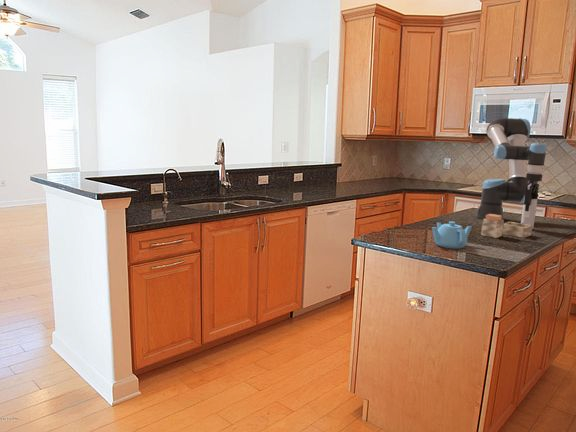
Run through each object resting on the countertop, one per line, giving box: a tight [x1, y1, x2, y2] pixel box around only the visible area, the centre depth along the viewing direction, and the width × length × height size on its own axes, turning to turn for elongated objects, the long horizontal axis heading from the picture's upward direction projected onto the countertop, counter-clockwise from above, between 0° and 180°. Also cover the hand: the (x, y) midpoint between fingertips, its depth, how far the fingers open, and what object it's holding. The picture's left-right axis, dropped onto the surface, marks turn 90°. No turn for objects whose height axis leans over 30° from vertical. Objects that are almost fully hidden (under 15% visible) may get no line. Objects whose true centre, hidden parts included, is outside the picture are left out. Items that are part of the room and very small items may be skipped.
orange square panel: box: [485, 214, 502, 222], centre depth 228 cm, size 6×6×3 cm
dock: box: [480, 219, 533, 239], centre depth 231 cm, size 16×22×8 cm
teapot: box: [431, 220, 473, 250], centre depth 206 cm, size 15×15×11 cm
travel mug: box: [520, 193, 539, 231], centre depth 247 cm, size 6×7×20 cm
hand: (528, 216), depth 248 cm, fingers closed on travel mug, 6 cm apart
